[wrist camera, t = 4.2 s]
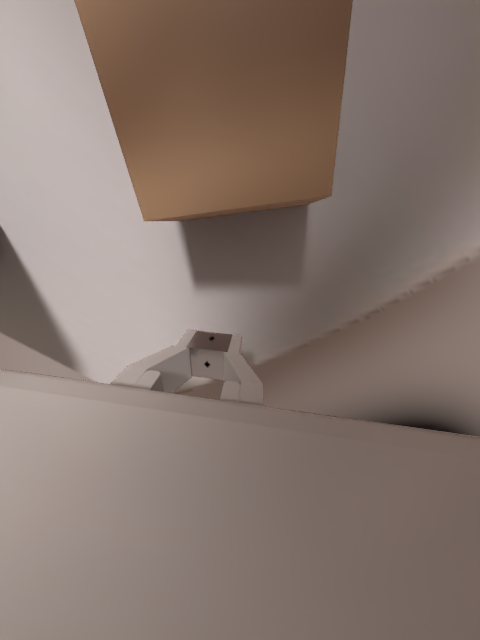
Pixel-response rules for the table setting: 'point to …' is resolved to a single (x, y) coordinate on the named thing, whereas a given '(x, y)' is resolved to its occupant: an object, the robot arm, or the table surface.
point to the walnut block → (222, 99)
